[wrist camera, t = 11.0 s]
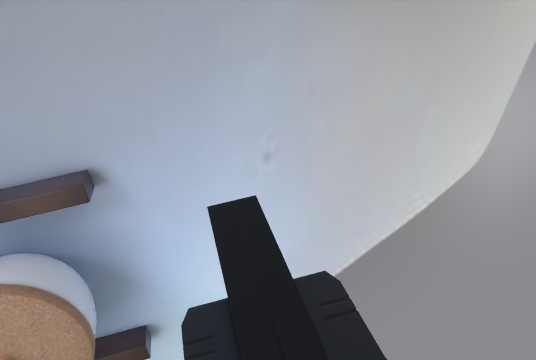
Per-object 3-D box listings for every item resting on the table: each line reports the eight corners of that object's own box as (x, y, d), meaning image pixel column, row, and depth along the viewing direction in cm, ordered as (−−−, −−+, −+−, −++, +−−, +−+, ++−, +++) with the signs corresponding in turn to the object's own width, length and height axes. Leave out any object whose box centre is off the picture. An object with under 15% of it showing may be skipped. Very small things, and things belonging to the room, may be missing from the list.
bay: (-23, 385, 39) (-34, 410, 37) (-132, 219, 32) (-154, 238, 29) (151, 337, 41) (150, 358, 39) (87, 169, 33) (83, 183, 31)
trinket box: (91, 219, 35) (70, 297, 27) (115, 325, 40) (105, 420, 31) (-63, 239, 33) (-137, 330, 25) (-18, 348, 38) (-68, 456, 30)
